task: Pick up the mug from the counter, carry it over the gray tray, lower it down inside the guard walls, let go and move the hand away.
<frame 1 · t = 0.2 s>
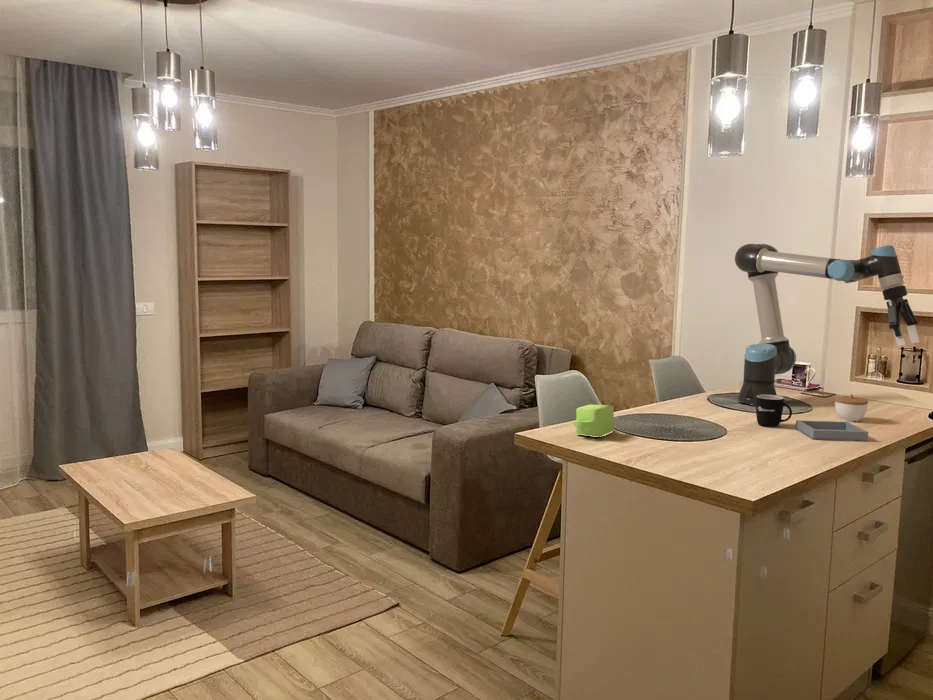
hand: (908, 344, 270), 28 cm above the table, tool tilted 20°, fingers open, 13 cm apart
lidded jar: (849, 420, 272), on the table
gray tray: (830, 434, 248), on the table
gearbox: (593, 434, 244), on the table
mug: (772, 426, 260), on the table
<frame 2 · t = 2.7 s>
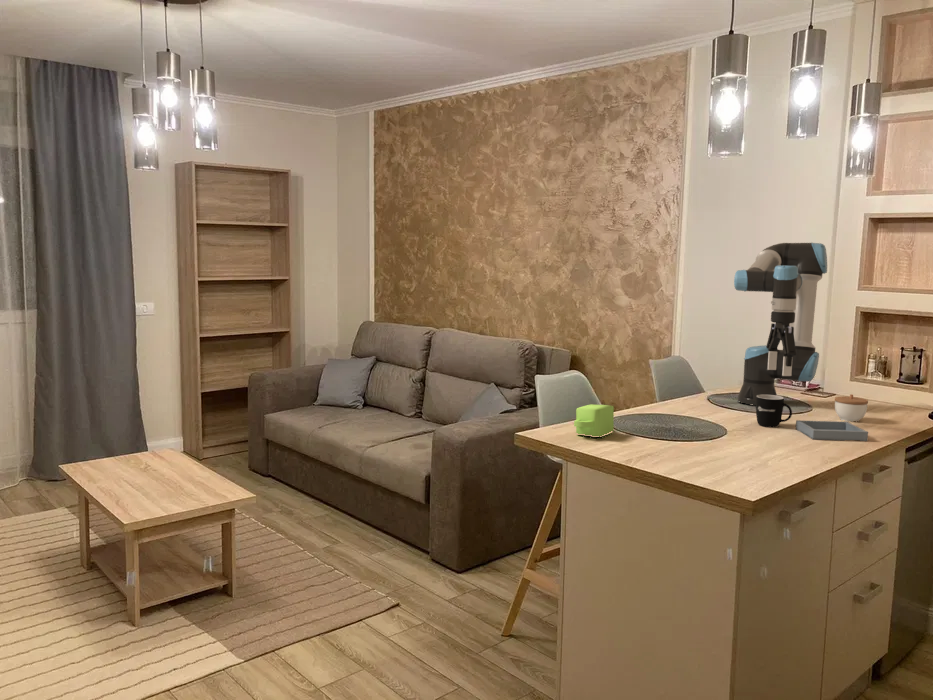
hand: (779, 372, 257), 19 cm above the table, tool pointing down, fingers open, 13 cm apart
nothing on the table moved.
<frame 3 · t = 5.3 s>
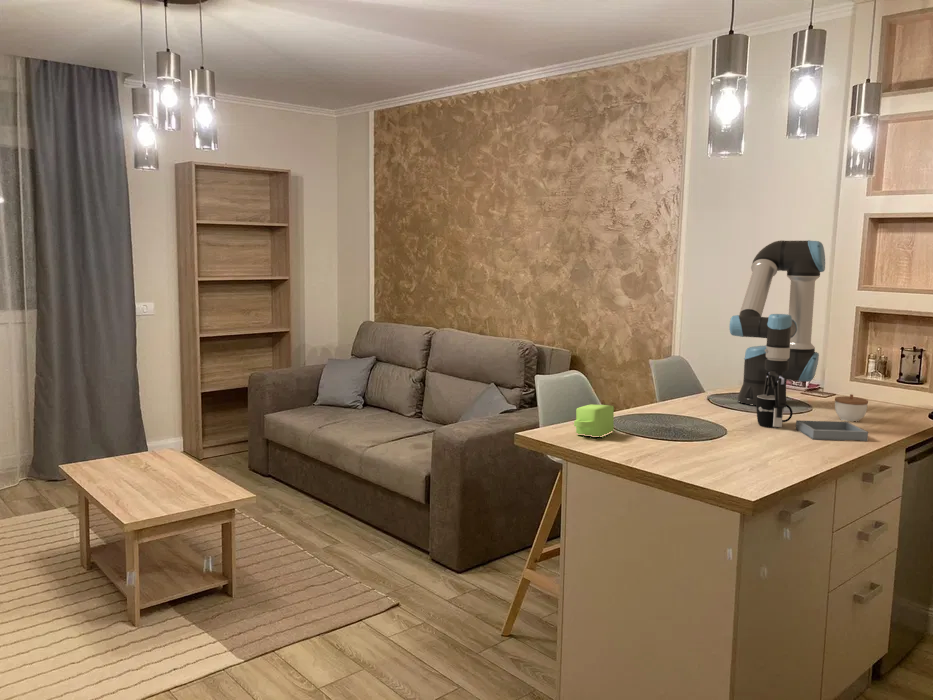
hand: (772, 423, 260), 1 cm above the table, tool pointing down, fingers closed on mug, 9 cm apart
mug: (773, 427, 259), on the table, touching gripper
everything else where it was.
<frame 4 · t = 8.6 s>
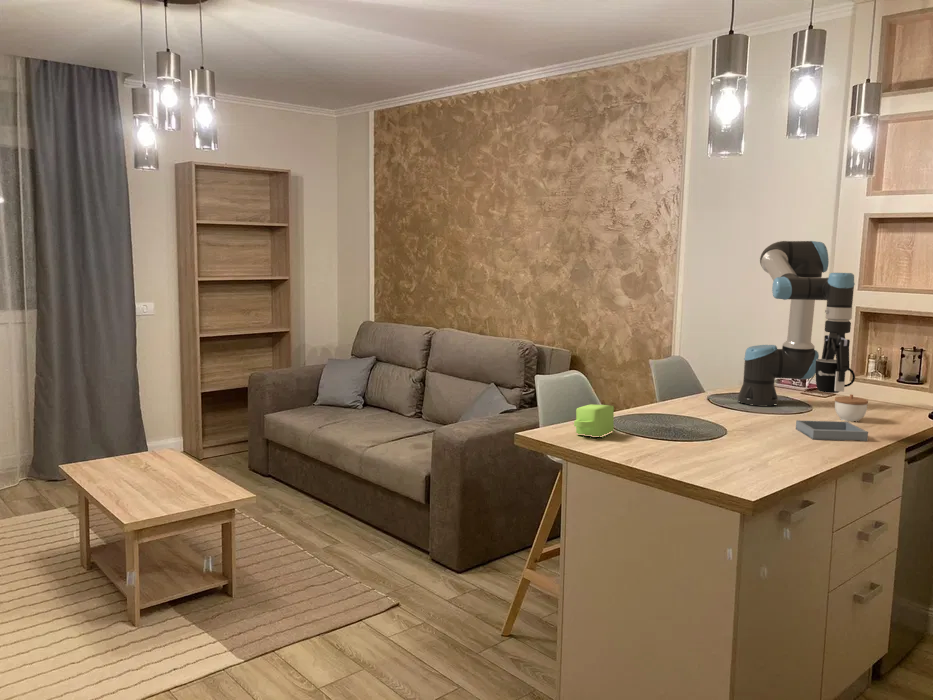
hand: (832, 388, 246), 16 cm above the table, tool pointing down, fingers closed on mug, 9 cm apart
mug: (833, 392, 245), point 14 cm above the table, touching gripper
everything else where it was.
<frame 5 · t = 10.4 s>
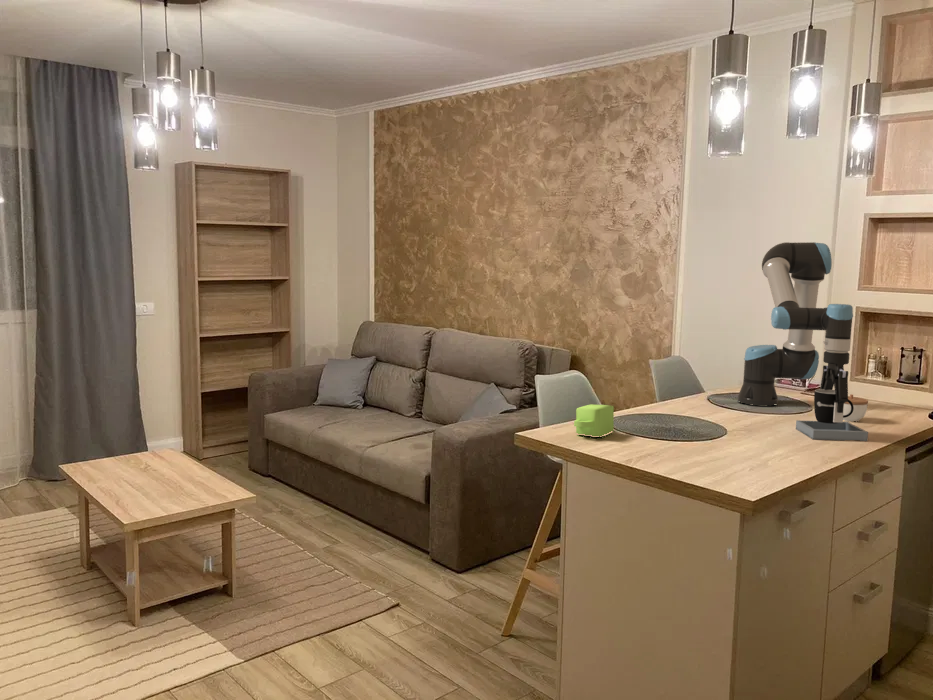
hand: (831, 419, 247), 5 cm above the table, tool pointing down, fingers closed on mug, 9 cm apart
mug: (832, 422, 246), point 4 cm above the table, touching gripper
everything else where it was.
when the fingers open (4 cm above the table, at t = 11.6 s): mug drops 2 cm, resting on gray tray.
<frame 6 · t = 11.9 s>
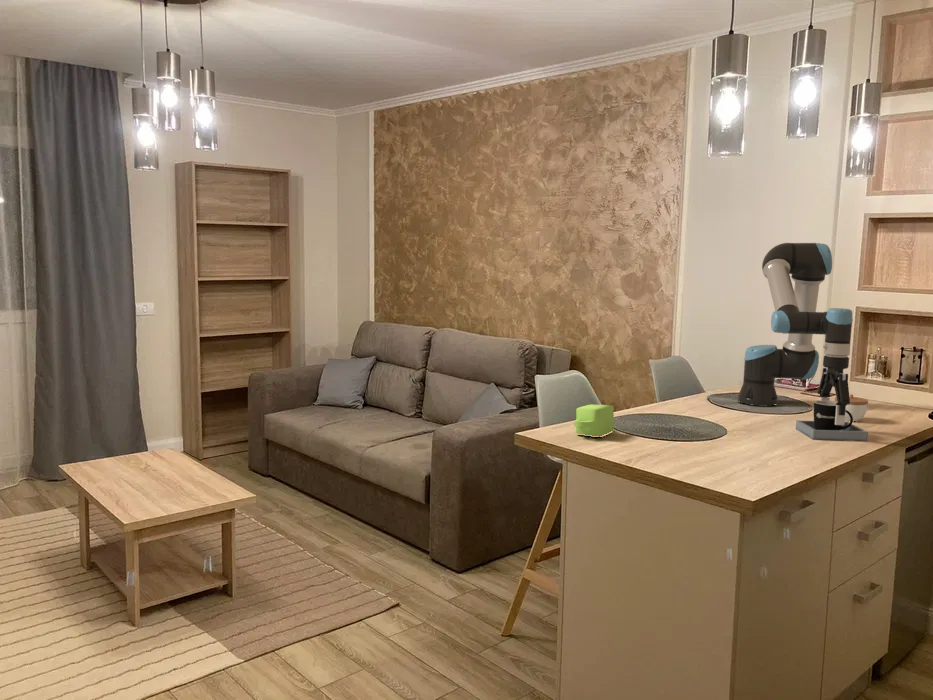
hand: (831, 420, 247), 5 cm above the table, tool pointing down, fingers open, 12 cm apart
mug: (831, 434, 247), resting on gray tray
everything else where it was.
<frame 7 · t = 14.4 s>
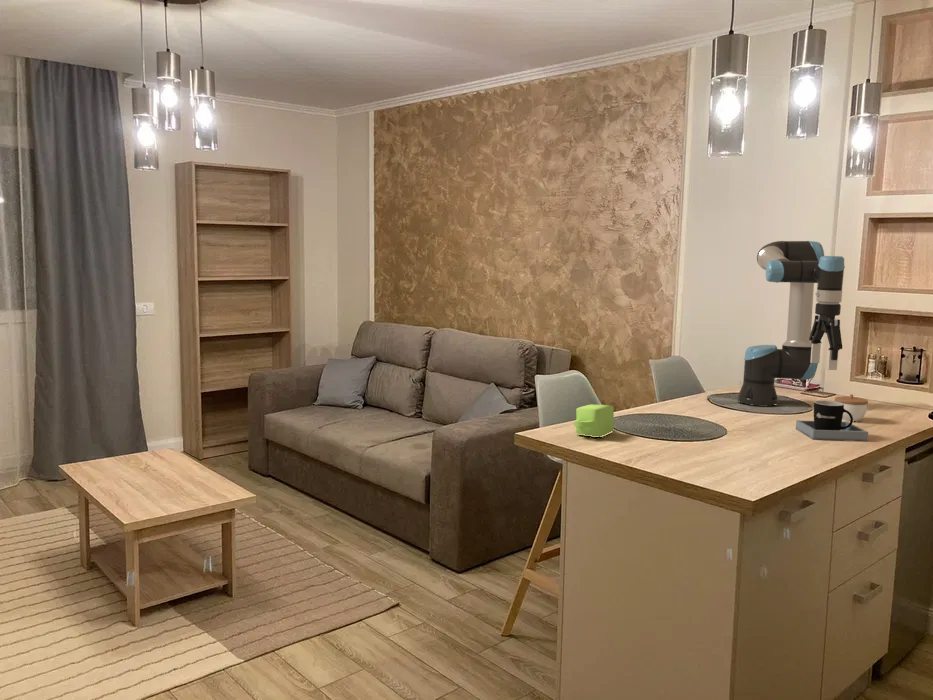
hand: (823, 366, 251), 22 cm above the table, tool pointing down, fingers open, 13 cm apart
nothing on the table moved.
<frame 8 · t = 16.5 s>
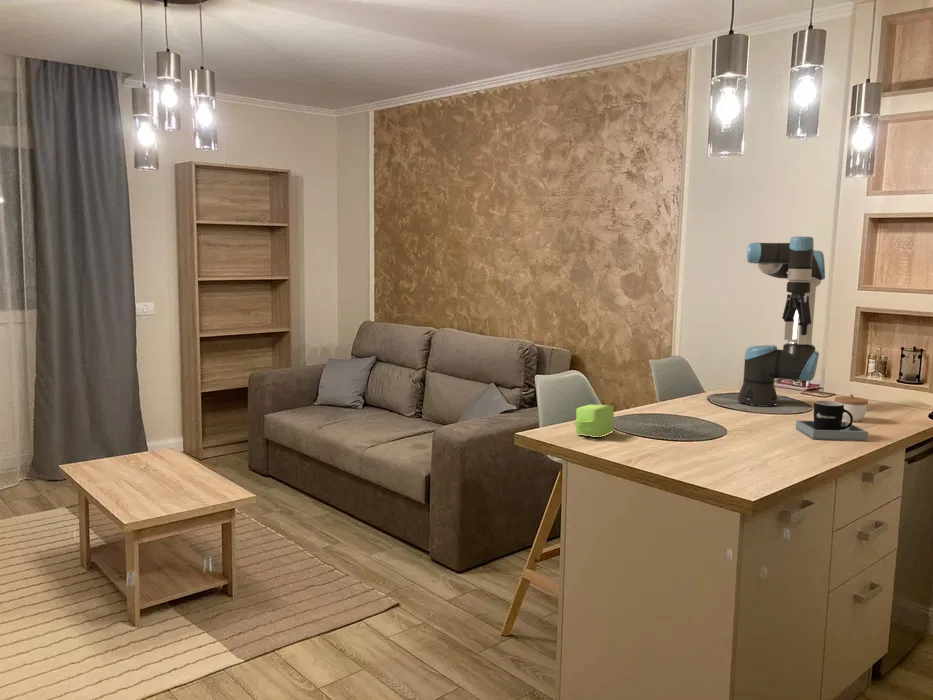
hand: (794, 342, 262), 29 cm above the table, tool pointing down, fingers open, 13 cm apart
nothing on the table moved.
at the end: mug 0.4 cm off-centre on the gray tray, point 0.3 cm above the gray tray's base; mug tilted 0°; the gripper is holding nothing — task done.
